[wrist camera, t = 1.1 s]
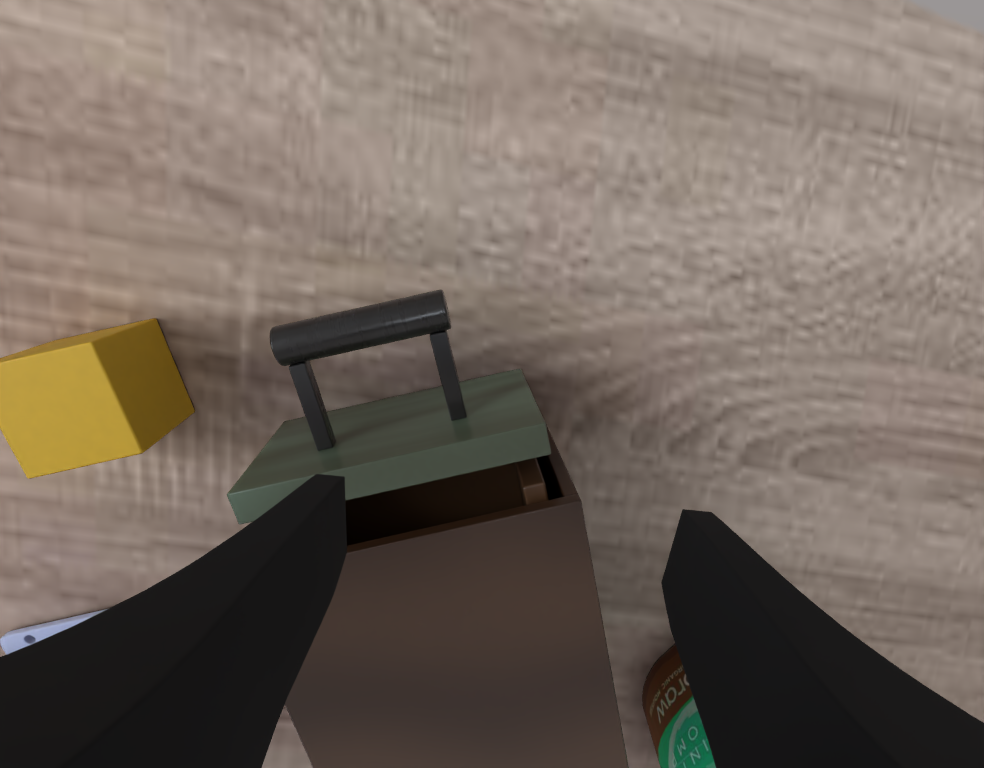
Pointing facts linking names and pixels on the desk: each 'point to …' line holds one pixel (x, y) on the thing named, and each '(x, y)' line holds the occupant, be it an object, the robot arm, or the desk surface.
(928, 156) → the desk surface
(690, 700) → the food container
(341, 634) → the cabinet
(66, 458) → the block
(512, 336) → the desk surface
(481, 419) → the drawer
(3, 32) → the desk surface
